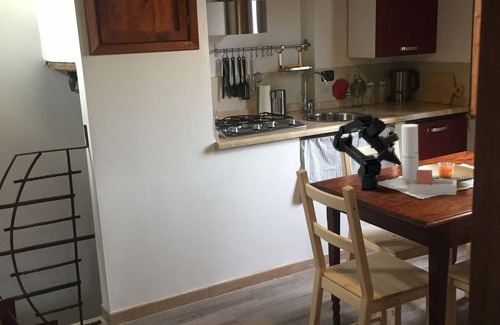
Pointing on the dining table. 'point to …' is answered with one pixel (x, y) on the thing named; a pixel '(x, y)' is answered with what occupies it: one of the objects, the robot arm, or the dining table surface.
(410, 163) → the cylindrical container
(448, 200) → the dining table surface
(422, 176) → the plug
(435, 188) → the plug guide
